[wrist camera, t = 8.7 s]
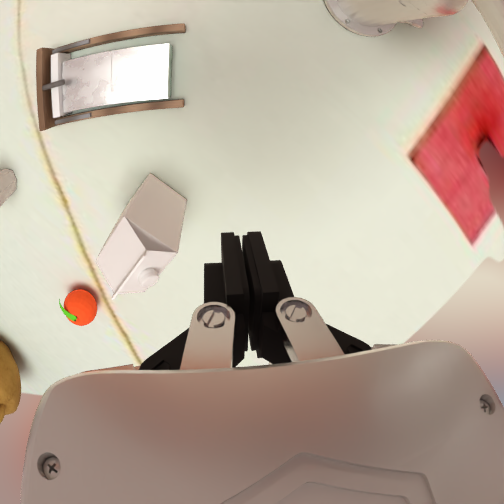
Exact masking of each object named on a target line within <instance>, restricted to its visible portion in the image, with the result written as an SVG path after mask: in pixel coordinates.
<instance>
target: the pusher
mask: <svg viewBox="0 0 504 504" xmlns="http://www.w3.org/2000/svg"><path fill="white" fill-rule="evenodd" d="M70 59H71V54H66V53H56V54H53V55H51V83H52V82H56V81H59V80H62V62H64V61H68V60H70ZM51 94H52V111H53V118H56V117H60V116H63V115H66V114H70V113H72V111H70V112H65V113H63V92H62V85H61V86H58V87H54V88H51Z"/></svg>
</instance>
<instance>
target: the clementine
mask: <svg viewBox="0 0 504 504" xmlns="http://www.w3.org/2000/svg"><path fill="white" fill-rule="evenodd" d="M59 304H60V299H59ZM60 308H61V309H62V311H63V313H64V314H65V315H66V317H67V318H68V319H69V320H70V321H71V322H72V323H74V324H76V325H80V326H83V325H87V324H89V323H90V322H92V321H93V320H94V318H95V316H96V313H97V304H96V301H95V299H94V297H93V296H92V295H91V294H90V293H89V292H88V291H86V290H82V289H78V290H74V291H72V292H70V293H69V294H68V295H67V297H66V298H65V301H64V308H63V307H62V306H61V304H60Z"/></svg>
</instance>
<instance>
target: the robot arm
mask: <svg viewBox="0 0 504 504" xmlns="http://www.w3.org/2000/svg"><path fill="white" fill-rule="evenodd" d="M324 1H325V4H326V7H327V8H328V10H329V12H330V13H331V15H332V16H333V17H334V18H335V20H337V21H338V22H339V23H340V24H341V25H342V26H344V27H345V28H346V29H348V30H350V31H352V32H354V33H356V34H359V35H363V36H380V35H383V34H386V33H388V32H389V31H391V30H392V29H393V28H394V26H395V25H396V23H398V22H401V23H409V24H410V25H412V26H415V27H417V28H421V27H422V26H423V20H422V19H423V18H431V17H439V16H449V15H453V14H455V13H457V12H459V11H460V10H462V9H463V8H464V6H465V5H466V4H467V2H468V0H324ZM472 1H473V3H474V4H475V6H476V7H477V9H478V10H479V11H480V13H481V15H482V16H483V18H484V20H485V22H486V23H487V25H488V27H489V29H490V31H491V33H492V34H493V36H494V38H495V40H496V42H497V44H498V46H499V48H500V50H501V52H502V54H503V56H504V0H472ZM345 21H346V23H345ZM221 253H222V263H204V304H202V305H200V306H199V307H198V308H196V309H195V311H194V313H193V315H192V319H191V323H190V328H188V329H187V330H186V331H184V332H183V333H181V334H180V335H179V336H177V337H176V338H175V339H173V340H172V341H171V342H169V343H168V344H167V345H165V346H164V347H162V348H161V349H160V350H158V351H157V352H156V353H154V354H153V355H152V356H150V357H149V358H147V359H146V360H145V361H144V362H143V363H142V364H141V366H136V367H134V366H133V364H130V365H124V366H118V367H111V368H105V369H98V370H90V371H85V372H82V373H79V374H75V375H72V376H68V377H66V378H63V379H61V380H59V381H57V382H55V383H54V384H52V385H51V386H50V387H49V388H48V389H47V390H46V392H45V393H44V395H43V397H42V399H41V401H40V403H39V405H38V408H37V411H36V413H35V416H34V419H33V422H32V426H31V430H30V434H29V438H28V443H27V447H26V454H25V460H24V468H23V476H22V486H21V504H504V407H503V405H502V403H501V401H500V400H499V397H498V395H497V394H496V392H495V390H494V388H493V386H492V385H491V383H490V381H489V380H488V378H487V377H486V375H485V373H484V372H483V370H482V369H481V367H480V366H479V365H478V363H477V362H476V361H475V359H474V358H473V357H472V355H470V353H469V352H468V351H467V350H466V349H465V348H463V347H462V346H460V345H458V344H456V343H452V342H449V341H441V340H425V341H415V342H410V343H404V344H399V345H385V344H374V346H373V347H370V346H369V345H368V344H366V343H365V342H363V341H361V340H359V339H357V338H355V337H352V336H350V335H348V334H346V333H344V332H342V331H340V330H338V329H336V328H334V327H332V326H330V325H327V324H325V322H324V321H323V319H322V317H321V316H320V314H319V313H318V311H317V310H316V308H315V307H314V305H313V304H312V303H311V302H309V301H307V300H305V299H302V298H298V297H294V295H293V292H292V290H291V287H290V284H289V281H288V278H287V276H286V273H285V270H284V268H283V265H282V262H281V261H280V260H275V261H270V260H269V256H268V253H267V250H266V247H265V244H264V241H263V237H262V234H261V232H248V233H247V235H243V239H242V249H241V243H240V238H239V236H234V232H230V233H221ZM248 333H249V339H250V346H251V350H252V351H254V350H256V352H257V358H264V359H265V360H267V361H269V365H261V366H249V367H236V366H237V365H238V364H239V363H240V362H241V361H242V360H243V359H244V351H247V350H248Z"/></svg>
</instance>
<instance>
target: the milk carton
mask: <svg viewBox="0 0 504 504" xmlns="http://www.w3.org/2000/svg"><path fill="white" fill-rule="evenodd" d="M186 202H187V200H186V199H185V198H184V197H182V196H181V195H180V194H178V193H177V192H176V191H174V190H173V189H172V188H170V187H169V186H167V185H166V184H165V183H163V182H162V181H161V180H159V179H158V178H157V177H155V176H154V175H153V174H151V173H150V174H149V175H148V176H147V178H146V179H145V180H144V182H143V183H142V184H141V186H140V187H139V189H138V190H137V191H136V193H135V194H134V196H133V197H132V198H131V200H130V201H129V203H128V204H127V206H126V207H125V209H124V211H123V212H122V214H121V216H120V217H119V219H118V221H117V223H116V224H115V226H114V228H113V230H112V231H111V233H110V235H109V237H108V239H107V240H106V242H105V244H104V246H103V248H102V250H101V252H100V253H99V255H98V257H97V259H96V263H97V265H98V266H99V268H100V270H101V272H102V274H103V275H104V277H105V279H106V281H107V282H108V284H109V286H110V287H111V289H112V291H113V293H114V294H113V297H112V300H114V299H115V297H116V296H117V294H121V293H137V292H145V291H146V290H147V289H148V288H149V287H151V286H153V285H154V284H156V283H157V282H158V280H159V275H160V273H161V272H162V271H163V270H164V269H165V268H166V266H167V265H168V264H169V263H170V262H171V261H172V259H173V258H174V257H175V256H176V254H177V253H178V249H179V243H180V237H181V231H182V225H183V219H184V213H185V208H186Z"/></svg>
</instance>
